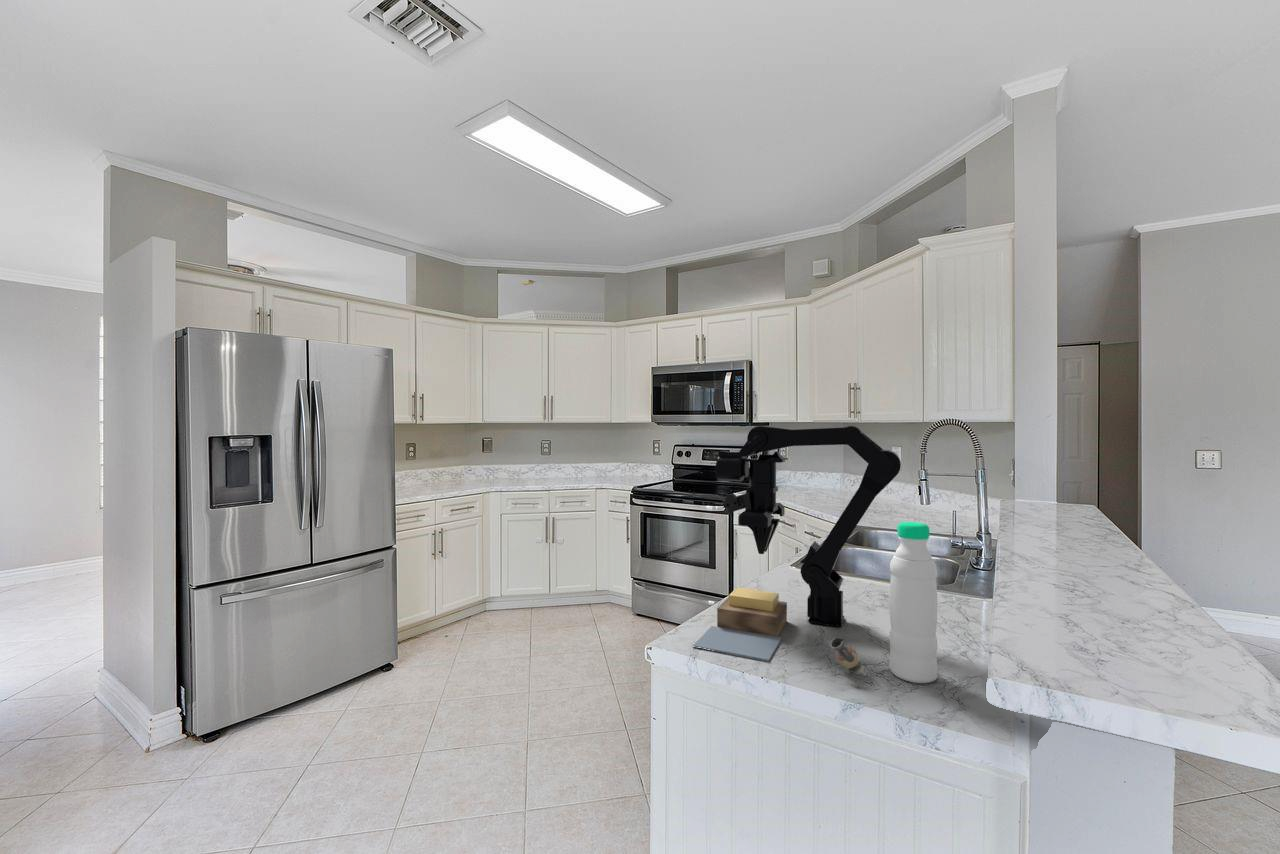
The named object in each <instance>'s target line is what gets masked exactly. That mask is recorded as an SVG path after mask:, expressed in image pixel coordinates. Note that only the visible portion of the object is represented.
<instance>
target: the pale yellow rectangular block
mask: <svg viewBox="0 0 1280 854" xmlns="http://www.w3.org/2000/svg"><path fill="white" fill-rule="evenodd" d="M728 597H729V605H733V606H740V607H746V608H753V609H760V610H767V611H773V610H774V608H775V607H776V606H777V604H778V603H779V601H780V600H779V599H780V598H779V597H780V596H779V592H774V591H765V590H758V589H751V588H741V587H736V588H735V589H733V591H732V592H731V593H729V594H728Z"/></svg>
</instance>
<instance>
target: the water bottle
mask: <svg viewBox="0 0 1280 854" xmlns="http://www.w3.org/2000/svg"><path fill="white" fill-rule="evenodd" d="M896 529H897V536H898V539H899V541H900V544H899V546H898V547H897V548H896V550H895V553H894V554H893V556H892V559H891V560H890V563H889V570H890V571H889V572H890V580H889V581H890V582H889V616H890V629H889V630H890V631H889V645H890V651H889V669H890V671H891V673H893V675H894V676H896V677H897V678H899V679H901V680H903V681H906V682H911V683H915V684H916V683H917V684H928V683H932V682H934V681H936V679H937V678H938V661H937V651H938V638H937V634H936V633H937V627H938V625H937V624H938V588H937V587H938V585H937V577H938V567H937V565H936V563H935V560H934V559H933V557H932V554H931V552H930V550H929V548H928V547H927V543H928V542H929V538H930V527H929V526H928V525H927V524H925V523H922V522H921V523H920V522H917V521H916V522H915V521H914V522H913V521H902V522H900V523H898V525H897V528H896Z"/></svg>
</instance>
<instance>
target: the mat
mask: <svg viewBox="0 0 1280 854" xmlns="http://www.w3.org/2000/svg"><path fill="white" fill-rule="evenodd" d="M781 641H782V637H780V636H778V637H775V636H769V635H763V634H757V633H751V632H745V631H739V630H733V629H727V628H721V627H717V625H715V626H714V625H711V626H710V627H709V628H708V629H707V630H706V631H705V632H704V634H703V635H701V636H700V638H699V639H697V641H696V642H695V643H693V645H692V647H693V646H695V647H701V648H706V649H710V650H714V651H718V652H717V653H719V652H722V653H721V654H724V653H726V654H725V655H730V656H735V657H740V658H747V659H751V660H757V661H762V662H767V663H769V662H770V661H771V659H772V657H773V656H774V654H775V651H776V650H777V648H778V646H779V645H780V643H781ZM714 651H713V652H714Z"/></svg>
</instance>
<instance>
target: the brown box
mask: <svg viewBox="0 0 1280 854" xmlns="http://www.w3.org/2000/svg"><path fill="white" fill-rule="evenodd" d="M787 604H788V602H787V601H780V600H779V603H778V604H777V606H776V607H775V608H774V610H773V611H767V610H760V609H753V608H746V607H740V606H733V605H729V596H728V597H727V598H726V599H725V600H724V601H723V602H722V603H721V604H719V606H718V607H717V608H716V610H717V612H716V620H717V621H716V622H717V625H716V627H721V628H727V629H733V630H739V631H745V632H751V633H757V634H763V635H769V636H775V637H779V635H780V633H781V632H782V630H783V629H784V627H785V625H786V623H787V621H788V605H787Z"/></svg>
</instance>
